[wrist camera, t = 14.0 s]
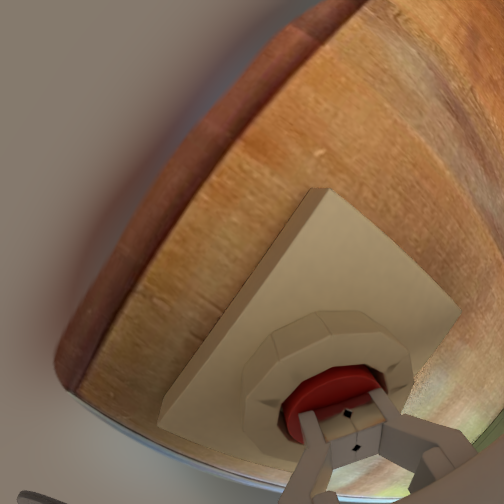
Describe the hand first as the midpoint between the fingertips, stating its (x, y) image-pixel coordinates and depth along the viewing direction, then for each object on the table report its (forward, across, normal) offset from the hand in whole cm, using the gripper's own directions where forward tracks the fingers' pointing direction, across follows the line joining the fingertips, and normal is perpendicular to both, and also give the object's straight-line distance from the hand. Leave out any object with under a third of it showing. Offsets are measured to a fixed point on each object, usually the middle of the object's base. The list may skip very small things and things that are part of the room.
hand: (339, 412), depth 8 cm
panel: (+4, 0, 0) cm, 4 cm away
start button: (+2, 0, 0) cm, 2 cm away
